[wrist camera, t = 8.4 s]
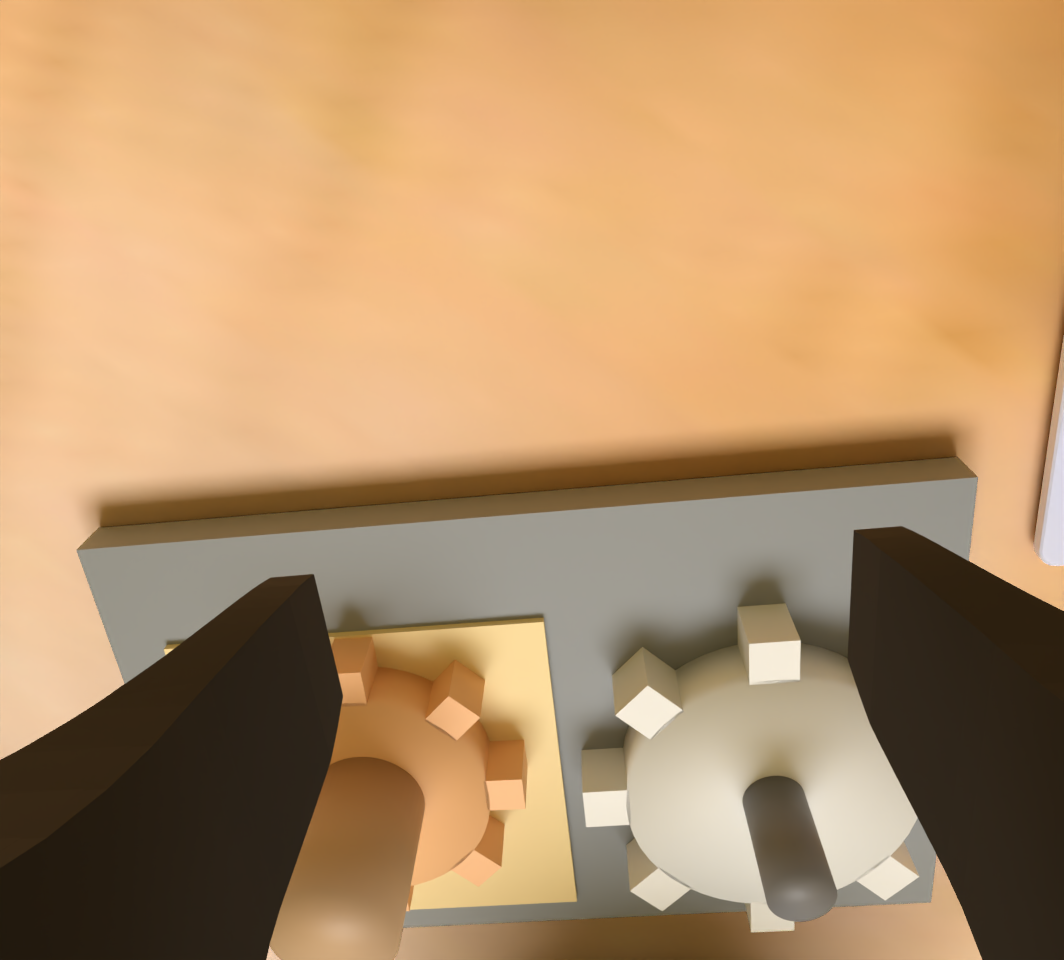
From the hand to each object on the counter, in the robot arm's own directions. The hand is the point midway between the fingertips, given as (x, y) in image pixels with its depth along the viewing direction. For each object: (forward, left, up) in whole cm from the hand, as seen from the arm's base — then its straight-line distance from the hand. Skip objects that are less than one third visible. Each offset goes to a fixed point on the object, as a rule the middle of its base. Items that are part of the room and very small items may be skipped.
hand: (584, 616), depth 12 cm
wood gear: (+6, +10, -9) cm, 15 cm away
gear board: (+2, +10, -10) cm, 15 cm away
